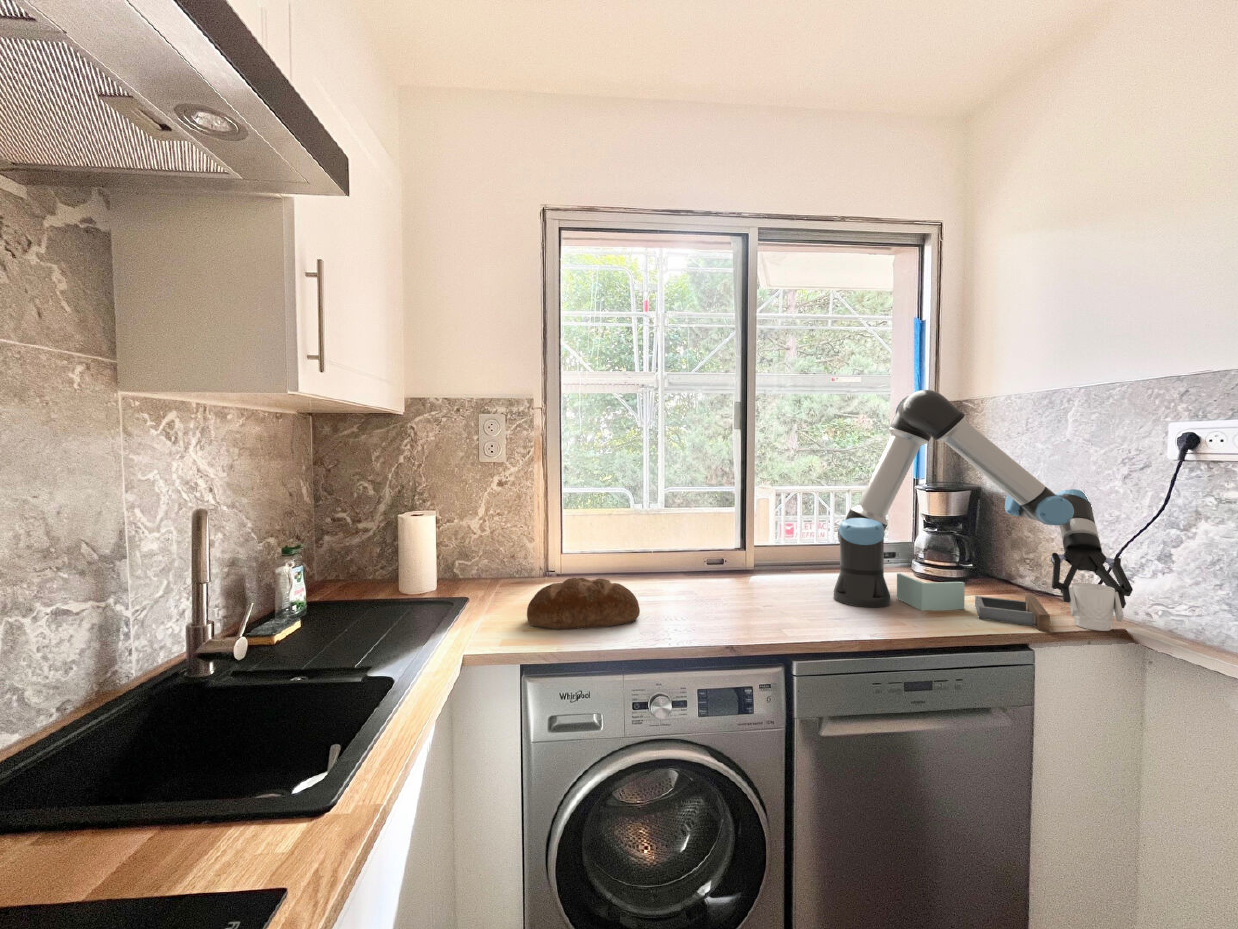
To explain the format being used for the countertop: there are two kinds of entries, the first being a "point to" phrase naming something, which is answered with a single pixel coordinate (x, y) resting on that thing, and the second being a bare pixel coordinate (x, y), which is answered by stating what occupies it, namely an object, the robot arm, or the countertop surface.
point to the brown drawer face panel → (1038, 613)
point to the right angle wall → (931, 594)
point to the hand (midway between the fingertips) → (1096, 615)
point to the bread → (582, 605)
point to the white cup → (1094, 606)
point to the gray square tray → (1004, 610)
